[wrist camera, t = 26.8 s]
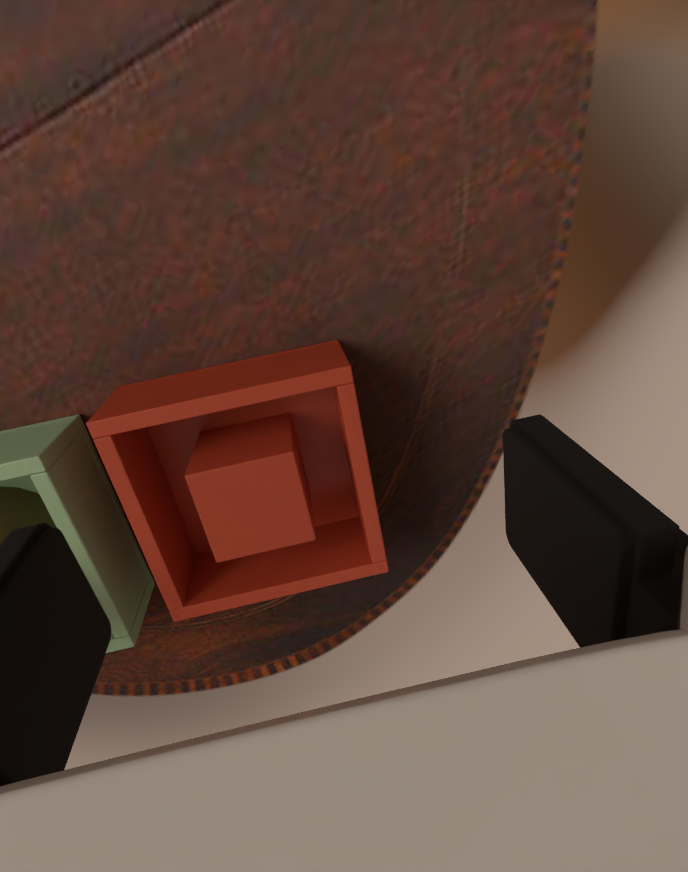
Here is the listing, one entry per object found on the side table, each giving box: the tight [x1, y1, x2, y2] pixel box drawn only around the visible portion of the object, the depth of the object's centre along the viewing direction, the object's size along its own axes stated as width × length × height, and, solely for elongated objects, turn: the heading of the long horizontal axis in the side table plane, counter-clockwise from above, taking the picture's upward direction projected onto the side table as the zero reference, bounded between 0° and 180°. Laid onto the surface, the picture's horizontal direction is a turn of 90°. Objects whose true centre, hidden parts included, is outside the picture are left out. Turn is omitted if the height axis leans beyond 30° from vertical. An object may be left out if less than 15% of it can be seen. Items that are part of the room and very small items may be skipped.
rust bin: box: [86, 340, 389, 622], centre depth 26 cm, size 12×12×5 cm
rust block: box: [185, 412, 316, 563], centre depth 26 cm, size 5×5×5 cm
